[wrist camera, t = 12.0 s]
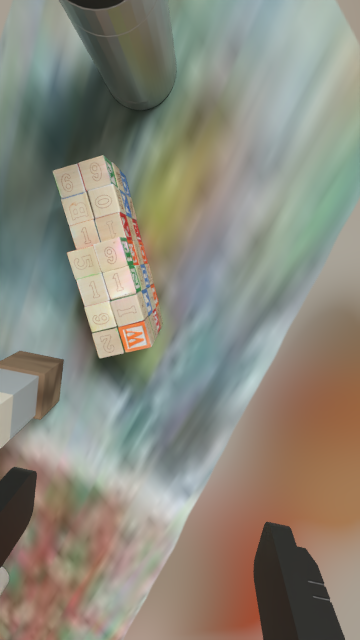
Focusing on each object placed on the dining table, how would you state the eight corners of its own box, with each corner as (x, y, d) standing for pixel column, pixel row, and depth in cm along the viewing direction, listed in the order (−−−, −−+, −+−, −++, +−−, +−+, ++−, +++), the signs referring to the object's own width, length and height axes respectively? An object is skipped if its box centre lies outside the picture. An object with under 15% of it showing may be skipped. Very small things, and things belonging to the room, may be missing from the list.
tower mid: (-4, 367, 43) (-36, 385, 37) (38, 376, 43) (13, 395, 37) (-6, 407, 45) (-38, 430, 39) (35, 415, 44) (9, 439, 39)
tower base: (20, 350, 49) (-5, 363, 43) (63, 359, 49) (45, 373, 43) (16, 391, 51) (-8, 409, 45) (59, 400, 50) (40, 419, 45)
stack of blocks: (82, 187, 44) (37, 161, 32) (125, 174, 43) (95, 143, 31) (124, 333, 47) (98, 360, 35) (164, 324, 47) (151, 348, 35)
